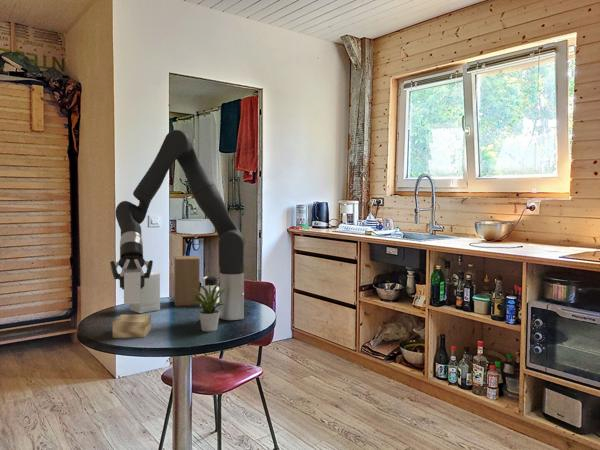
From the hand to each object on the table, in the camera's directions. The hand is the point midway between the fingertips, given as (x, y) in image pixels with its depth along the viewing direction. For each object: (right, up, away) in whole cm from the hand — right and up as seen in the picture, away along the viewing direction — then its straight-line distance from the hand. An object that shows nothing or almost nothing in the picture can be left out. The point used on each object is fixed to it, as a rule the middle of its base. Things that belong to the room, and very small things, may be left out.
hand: (132, 287), depth 153 cm
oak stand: (-1, -15, +3) cm, 16 cm away
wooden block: (+6, -13, +49) cm, 51 cm away
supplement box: (-8, -14, +35) cm, 38 cm away
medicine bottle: (+16, -14, +47) cm, 51 cm away
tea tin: (-1, -5, +2) cm, 6 cm away
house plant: (+25, -16, +9) cm, 31 cm away
